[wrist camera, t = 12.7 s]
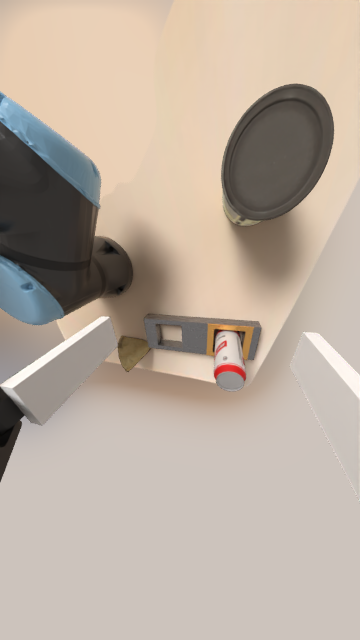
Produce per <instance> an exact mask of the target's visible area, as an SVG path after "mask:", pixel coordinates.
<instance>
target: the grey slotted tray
mask: <svg viewBox="0 0 360 640" xmlns="http://www.w3.org/2000/svg"><path fill="white" fill-rule="evenodd" d="M144 323H145V329H146V335H147V341H148V347H150V348H158V349H166V350H175V351H183V352H191V353H200V354H206V355H210V356H215V345H213V339H214V329H221V330H233V331H243V334H242V340H241V347H242V353H243V358H244V360H247V359H249V360H254V356H255V352H256V348H257V343H258V339H259V335H260V331H261V326H260V324H259V322H258V321H244V320H229V319H215V318H200V317H185V316H171V315H156V314H148V315H147V316H146V317H145V318H144ZM160 324H168V325H180V326H182V342H180V341H171V340H161V332H160Z"/></svg>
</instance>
